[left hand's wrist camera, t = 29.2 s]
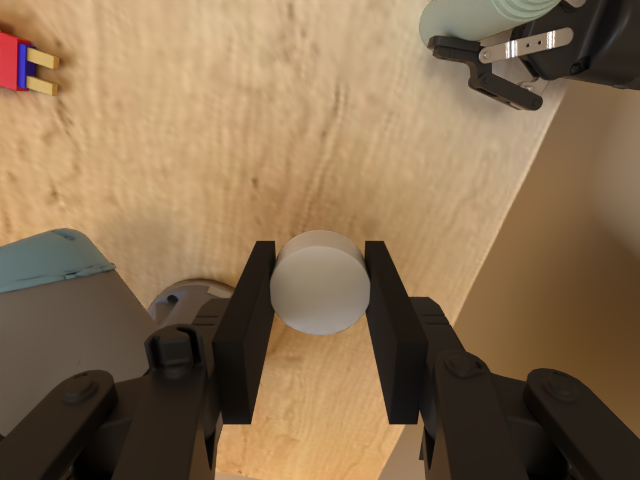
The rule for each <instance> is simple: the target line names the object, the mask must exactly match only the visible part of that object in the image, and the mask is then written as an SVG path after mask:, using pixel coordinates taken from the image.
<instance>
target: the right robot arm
mask: <svg viewBox="0 0 640 480" xmlns="http://www.w3.org/2000/svg"><path fill="white" fill-rule="evenodd" d="M480 43H481V42H476V41H469V40H464V39H458V38H452V37H446V36H440V35H435V36H433V37H431V38H429V42H428V47H427V48H429V49H434V51H433V56H434V57H436V58H437V59H442V60H449V61H454V62H460V63H465V64H467V65H468V66H469V68H470V76H471V77H470V78H469V81H468V85H469V87H470V88H471V89H473V90H476V91H478V92H480V93H482V94H484V95H486V96H489V97H491V98H493V99H495V100H497V101H500V102H502V103H504V104H506V105H508V106H510V107H513V108H515V109H517V110H533V111H535V110H538V109H539V108H540V107H541V106H542V103H543V99H542V97H541V94H542V93H543V91H544V89H545V87H546V86H547V84H548V82H549V81H551V80H555V79H557V78H567V79H573V80H579V81H585V82H591V83H598V84H603V85H609V86H612V87H615V88H619V89H633V90H640V0H561V1H560V2H559V3H558V4H557V5H556V6H555V7H553V8H552V9H551V10H550V11H549V12H548V13H546V14H545V15H543V16H541V17H539V18H537V19H535V20H532V21H530V22H527V23H524V24H522V25H519V26H516V27H514V29H513V32H512V35H511V38H510V41H509V42H505V43H501V44H497V45H493V46H489V47H483V46H480ZM516 56H518V57H519V58H520V60H521V61H522V62H523V64H524V65H525V67H526V68H527V69H528V71H529V72H530V73H531V75H532V76H533V77H534V79H533V80H532V81H530V82H529V81H527V82H520V83H518V84H517V85H516V84H513V83H511V82H509V81H507V80H505V79H503V78H501V77H499V76H496V75H494V74H492V62H495V61H499V60H503V59H508V58H512V57H516Z"/></svg>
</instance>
